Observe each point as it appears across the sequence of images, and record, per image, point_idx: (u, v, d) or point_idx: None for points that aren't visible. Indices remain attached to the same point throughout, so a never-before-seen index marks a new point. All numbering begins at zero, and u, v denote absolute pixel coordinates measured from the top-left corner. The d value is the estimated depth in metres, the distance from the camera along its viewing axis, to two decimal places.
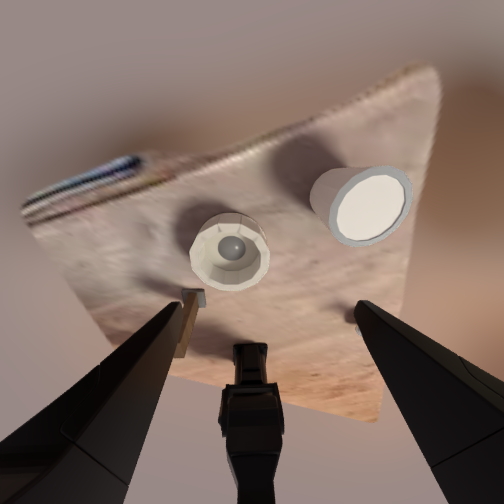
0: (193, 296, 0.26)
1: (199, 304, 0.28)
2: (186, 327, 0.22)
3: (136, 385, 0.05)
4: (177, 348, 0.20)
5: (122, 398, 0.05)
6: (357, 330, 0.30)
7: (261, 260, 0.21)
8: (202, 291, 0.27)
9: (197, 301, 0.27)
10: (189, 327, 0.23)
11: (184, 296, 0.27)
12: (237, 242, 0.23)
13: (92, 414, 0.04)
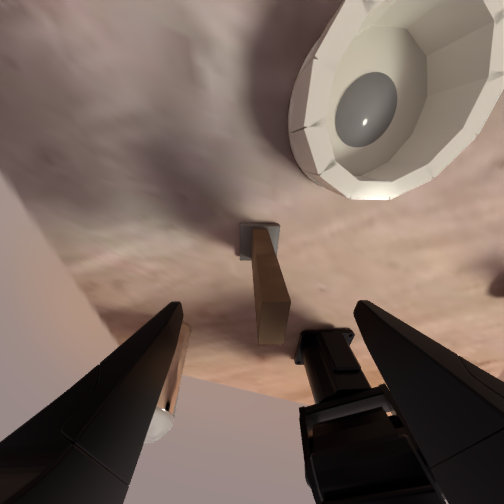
0: (264, 232, 0.14)
1: None
2: None
3: (136, 385, 0.05)
4: (277, 317, 0.08)
5: (122, 398, 0.05)
6: None
7: (475, 104, 0.08)
8: (277, 226, 0.14)
9: None
10: None
11: (243, 235, 0.14)
12: (382, 93, 0.10)
13: (92, 414, 0.04)
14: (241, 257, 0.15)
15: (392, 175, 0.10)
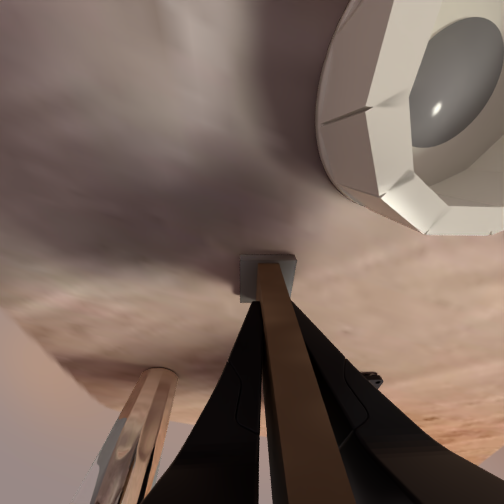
0: (275, 270, 0.09)
1: None
2: (312, 378, 0.05)
3: None
4: None
5: None
6: None
7: None
8: (293, 259, 0.10)
9: None
10: None
11: (245, 272, 0.10)
12: (478, 58, 0.06)
13: (256, 408, 0.04)
14: (242, 299, 0.11)
15: (495, 194, 0.06)
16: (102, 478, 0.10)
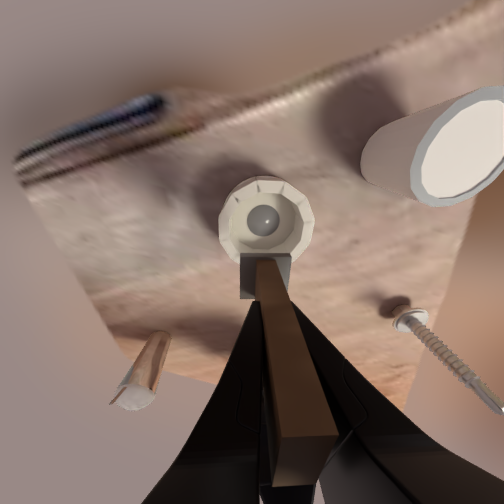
0: (272, 265, 0.10)
1: None
2: (303, 346, 0.06)
3: None
4: (311, 455, 0.04)
5: None
6: (395, 324, 0.26)
7: (303, 231, 0.17)
8: (288, 256, 0.11)
9: None
10: None
11: (244, 269, 0.11)
12: (270, 213, 0.19)
13: (257, 408, 0.04)
14: (241, 295, 0.12)
15: None
16: (136, 370, 0.22)
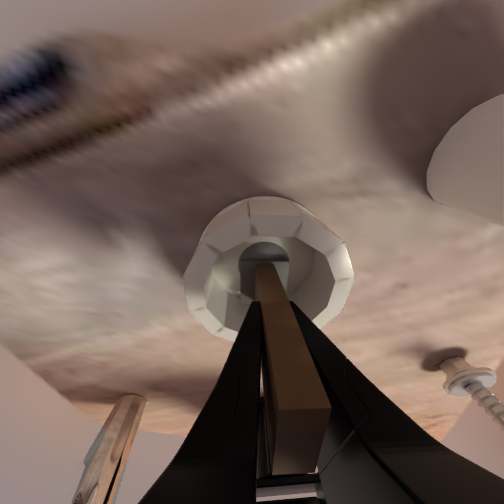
0: (270, 269, 0.11)
1: None
2: (300, 337, 0.06)
3: None
4: (307, 433, 0.04)
5: None
6: (448, 387, 0.19)
7: (332, 293, 0.10)
8: (286, 261, 0.12)
9: None
10: None
11: (244, 273, 0.12)
12: (275, 253, 0.12)
13: (254, 408, 0.04)
14: (242, 300, 0.12)
15: None
16: (85, 473, 0.16)
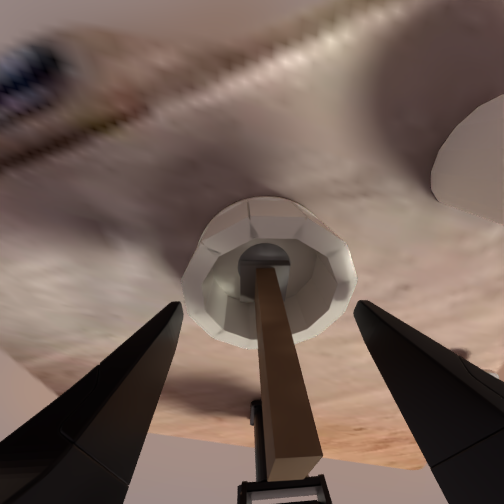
0: (271, 275, 0.11)
1: None
2: (297, 365, 0.07)
3: (136, 385, 0.05)
4: (299, 466, 0.05)
5: (122, 398, 0.05)
6: None
7: (334, 296, 0.10)
8: (287, 264, 0.11)
9: None
10: None
11: (244, 276, 0.12)
12: (275, 255, 0.12)
13: (92, 414, 0.04)
14: (242, 299, 0.13)
15: None
16: None
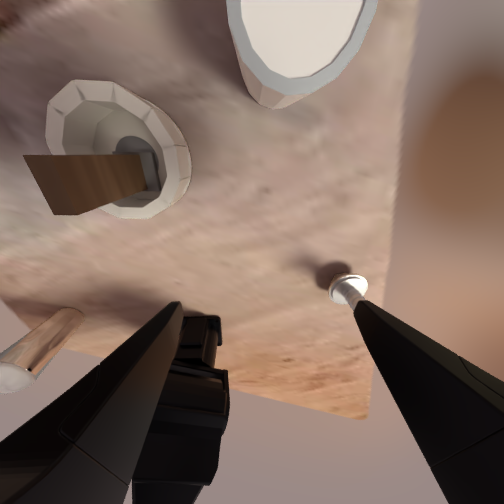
0: (130, 154, 0.15)
1: (147, 183, 0.16)
2: (90, 161, 0.10)
3: (136, 385, 0.05)
4: (50, 177, 0.09)
5: (122, 398, 0.05)
6: (330, 294, 0.23)
7: (166, 162, 0.14)
8: (149, 152, 0.15)
9: (141, 172, 0.15)
10: (104, 177, 0.11)
11: None
12: (143, 148, 0.16)
13: (92, 414, 0.04)
14: None
15: None
16: (13, 347, 0.19)
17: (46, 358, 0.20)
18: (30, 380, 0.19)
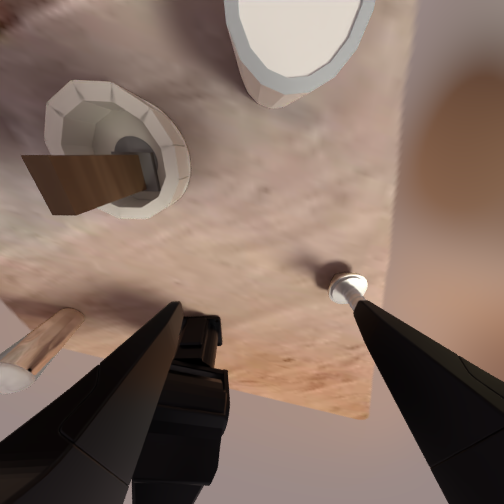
0: (129, 155, 0.15)
1: (146, 183, 0.16)
2: (88, 161, 0.10)
3: (136, 385, 0.05)
4: (48, 177, 0.09)
5: (122, 398, 0.05)
6: (330, 294, 0.23)
7: (165, 162, 0.14)
8: (148, 152, 0.15)
9: (140, 172, 0.15)
10: (103, 177, 0.11)
11: None
12: (142, 148, 0.16)
13: (92, 414, 0.04)
14: None
15: None
16: (13, 347, 0.19)
17: (46, 358, 0.20)
18: (30, 380, 0.19)
